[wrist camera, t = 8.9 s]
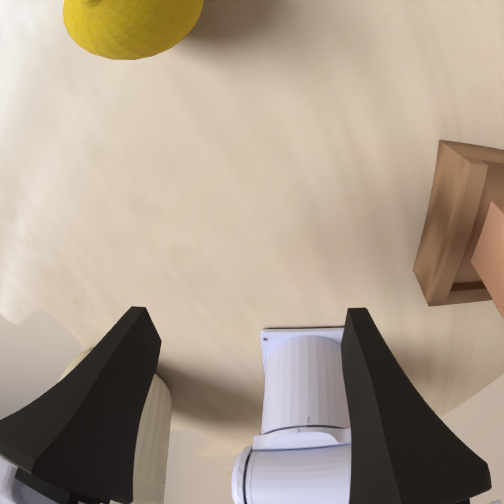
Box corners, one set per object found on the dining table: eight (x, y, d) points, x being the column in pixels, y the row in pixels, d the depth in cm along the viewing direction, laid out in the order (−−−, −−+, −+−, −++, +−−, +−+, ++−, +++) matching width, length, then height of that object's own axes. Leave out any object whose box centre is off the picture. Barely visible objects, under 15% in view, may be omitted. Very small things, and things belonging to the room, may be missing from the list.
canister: (128, 317, 27) (55, 526, 10) (219, 403, 36) (195, 552, 20) (41, 336, 33) (-18, 466, 16) (124, 405, 42) (92, 517, 25)
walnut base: (505, 265, 20) (525, 295, 16) (413, 269, 21) (428, 306, 18) (539, 158, 14) (570, 181, 11) (439, 140, 15) (470, 163, 12)
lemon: (205, -44, 10) (148, -101, 3) (230, 38, 13) (185, 27, 7) (114, -8, 11) (17, -20, 5) (136, 70, 14) (45, 95, 8)
